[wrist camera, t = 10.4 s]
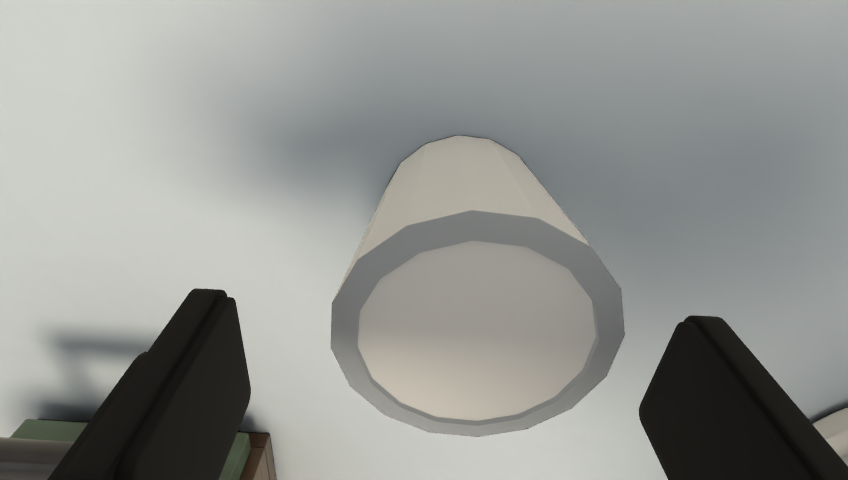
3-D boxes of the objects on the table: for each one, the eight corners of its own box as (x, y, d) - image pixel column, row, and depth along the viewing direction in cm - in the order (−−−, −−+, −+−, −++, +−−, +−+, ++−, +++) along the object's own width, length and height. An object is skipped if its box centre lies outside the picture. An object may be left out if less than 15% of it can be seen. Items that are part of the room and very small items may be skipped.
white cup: (346, 260, 18) (302, 407, 12) (397, 87, 15) (370, 168, 9) (510, 306, 19) (545, 464, 13) (591, 154, 16) (691, 268, 10)
